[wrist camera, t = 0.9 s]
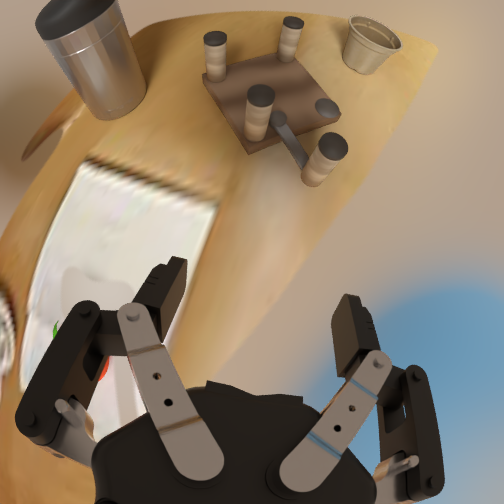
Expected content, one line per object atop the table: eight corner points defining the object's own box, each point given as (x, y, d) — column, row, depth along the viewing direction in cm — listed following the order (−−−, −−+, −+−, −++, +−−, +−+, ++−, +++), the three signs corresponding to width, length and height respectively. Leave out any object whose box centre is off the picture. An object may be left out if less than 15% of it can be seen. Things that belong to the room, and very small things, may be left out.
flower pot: (354, 43, 38) (369, 12, 29) (390, 74, 37) (411, 46, 28) (322, 53, 36) (337, 18, 28) (363, 88, 36) (384, 54, 27)
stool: (203, 82, 33) (198, 34, 24) (286, 58, 35) (298, 14, 26) (249, 156, 32) (256, 110, 23) (338, 122, 34) (365, 80, 25)
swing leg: (263, 120, 30) (271, 79, 23) (282, 113, 31) (294, 73, 23) (308, 191, 30) (330, 161, 22) (327, 182, 30) (353, 152, 22)
